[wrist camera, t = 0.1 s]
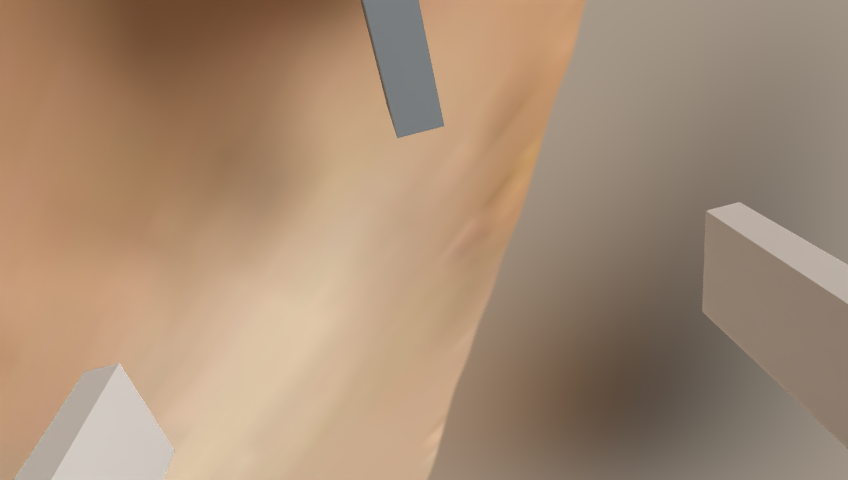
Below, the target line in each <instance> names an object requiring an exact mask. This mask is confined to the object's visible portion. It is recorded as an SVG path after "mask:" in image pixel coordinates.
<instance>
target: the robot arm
mask: <svg viewBox="0 0 848 480" xmlns="http://www.w3.org/2000/svg"><path fill="white" fill-rule="evenodd" d="M702 312H703V313H705V314H706V315H707V316H708V317H709V318H710V319H711V320H712V321H713V322H714V323H715V324H716V325H717V326H718V327H719V328H720V329H722V331H724V332H725V333H726V334H727V335H728V336H729V337H730V338H731V339H732V340H733V341H734V342H735V343H736V344H737V345H738V346H739V347H740V348H742V349H743V350H744V351H745V352H746V353H747V354H748V355H749V356H750V357H751V358H752V359H753V360H754V361H755V362H757V364H758V365H760V366H761V367H762V368H763V369H764V370H765V371H766V372H767V373H768V374H769V375H770V376H771V377H772V378H773V379H774V380H775V381H777V382H778V383H779V384H780V385H781V386H782V387H783V388H784V389H785V390H786V391H787V392H788V393H789V394H790V395H792V396H793V397H794V398H795V399H796V400H797V401H798V402H799V403H800V404H801V405H802V406H803V407H804V408H805V409H806V410H807V411H808V412H809V413H810V414H811V415H813V416H814V417H815V418H816V419H817V420H818V421H819V422H820V423H821V424H822V425H823V426H824V427H825V428H826V429H828V431H830V432H831V433H832V434H833V435H834V436H835V437H836V438H837V439H838V440H839V441H840V442H841V443H842V444H843V445H844V446H846V448H848V265H847V264H845V263H844V262H842V261H840V260H838V259H837V258H835V257H833V256H832V255H830V254H828V253H827V252H825V251H823V250H821V249H820V248H818V247H816V246H814V245H813V244H811V243H809V242H807V241H806V240H804V239H802V238H801V237H799V236H797V235H795V234H794V233H792V232H790V231H788V230H787V229H785V228H783V227H781V226H780V225H778V224H776V223H774V222H773V221H771V220H769V219H768V218H766V217H764V216H762V215H761V214H759V213H757V212H755V211H754V210H752V209H750V208H749V207H747V206H745V205H743V204H742V203H740V202H739V203H735V204H731V205H727V206H723V207H719V208H715V209H711V210H708V211H706V226H705V253H704V279H703V307H702ZM173 453H174V448H173V447H172V445H171V444H170V442H169V441H168V439H167V437H166V436H165V434H164V433H163V431H162V430H161V428H160V426H159V425H158V423H157V422H156V420H155V418H154V417H153V415H152V414H151V412H150V411H149V409H148V407H147V406H146V404H145V403H144V401H143V400H142V398H141V396H140V395H139V393H138V392H137V390H136V389H135V387H134V385H133V384H132V382H131V381H130V379H129V377H128V376H127V374H126V373H125V371H124V370H123V368H122V366H121V365H120V363H117V364H113V365H109V366H105V367H101V368H97V369H94V370H90V371H86V372H84V373H83V375H82V376H81V378H80V379H79V381H78V382H77V384H76V385H75V387H74V388H73V390H72V391H71V393H70V394H69V396H68V397H67V399H66V400H65V402H64V403H63V405H62V407H61V408H60V410H59V411H58V413H57V414H56V416H55V417H54V419H53V420H52V422H51V423H50V425H49V426H48V428H47V429H46V431H45V432H44V434H43V435H42V437H41V438H40V440H39V442H38V443H37V445H36V446H35V448H34V449H33V451H32V452H31V454H30V455H29V457H28V458H27V460H26V461H25V463H24V464H23V466H22V467H21V469H20V470H19V472H18V473H17V475H16V477H15V478H14V480H164V478H165V475H166V472H167V470H168V467H169V464H170V461H171V458H172V456H173Z"/></svg>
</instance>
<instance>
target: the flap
mask: <svg viewBox="0 0 848 480" xmlns="http://www.w3.org/2000/svg"><path fill="white" fill-rule="evenodd" d="M361 4H362V8H363V12H364V16H365V20H366V24H367V28H368V32H369V36H370V40H371V44H372V47H373V51H374V55H375V59H376V63H377V67H378V71H379V75H380V79H381V83H382V87H383V91H384V95H385V99H386V103H387V107H388V110H389V113H390V116H391V119H392V123H393V126H394V129H395V132H396V135H397V138H399V137H403V136H407V135H411V134H415V133H419V132H423V131H427V130H431V129H435V128H438V127H442V126H444V123H443V118H442V113H441V108H440V103H439V98H438V93H437V88H436V84H435V79H434V74H433V69H432V64H431V59H430V54H429V49H428V44H427V40H426V35H425V30H424V25H423V20H422V15H421V10H420V5H419V0H361Z"/></svg>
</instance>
